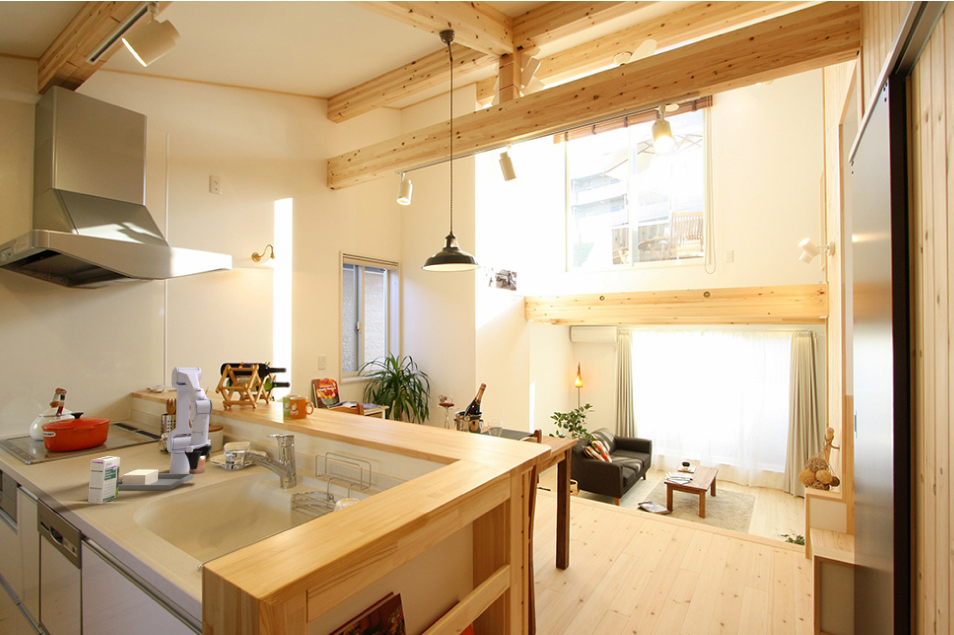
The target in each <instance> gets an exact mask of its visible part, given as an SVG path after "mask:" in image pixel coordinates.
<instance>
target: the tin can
mask: <svg viewBox="0 0 954 635" xmlns="http://www.w3.org/2000/svg"><path fill="white" fill-rule="evenodd" d="M206 460H207V458H206V456H205V455H200V457H199V461H198V466H197V469H190V467H189V472H188V474H194V475H199V474H203V473H205V472H206Z"/></svg>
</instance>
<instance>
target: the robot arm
mask: <svg viewBox="0 0 954 635" xmlns="http://www.w3.org/2000/svg"><path fill="white" fill-rule="evenodd" d="M202 372H203V371H202V369H201V367H199V366H197V367H194V366H193V367H192V366H191V367H187V366H186V367H183V366H182V367H177V366H175V367H174V368H173V369H172V371H171V387H172V388H174V389H175V391H176V408H175V409H176V410H175V413H176V414H175V427H174V428H173V429H172V430H171V431H169V433H168V434H167V439H166V450H167V451H168V453H170V458H169V459H170V461H169V473H171V474H187V473H189V467H190V469H197V466H198V461H199V457H200V455H205V456H206V459H207V458H208V456H209V455H208V454H209V452H210V451H211V450H212V445H211V441H212V440H211V439H208V438H209V425H210V415H211V414H212V413H213V402H212V399H210V398H208V397H207V395H206V392H205V389H204V388H202V387H200V383H199V382H200V380H201V379H202ZM190 420H191V427H190Z"/></svg>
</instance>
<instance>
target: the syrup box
mask: <svg viewBox="0 0 954 635" xmlns="http://www.w3.org/2000/svg"><path fill="white" fill-rule="evenodd" d="M120 464H121V457H120V456H117V455H107V456H103V457H99V458H94V459H91V460H90V469H89V470H90V471H89V484H88V485H89V486H88V488H89V489H88V497H87V498H88V499H87V500H88V501H87V502H88V503H89V504H93V505H103V504H106V503H109V502H110V501H111V500H113V499H116V498H118V497H119V496H118V495H119V490H118V483H119V481H120Z"/></svg>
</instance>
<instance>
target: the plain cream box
mask: <svg viewBox="0 0 954 635" xmlns="http://www.w3.org/2000/svg"><path fill="white" fill-rule="evenodd" d="M158 473H159V469H135V470H131V471H130V472H127V473H125V474H122V479H121V480H122V484H143V485H149V484H152V483H154V482H156V481H158Z"/></svg>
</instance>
